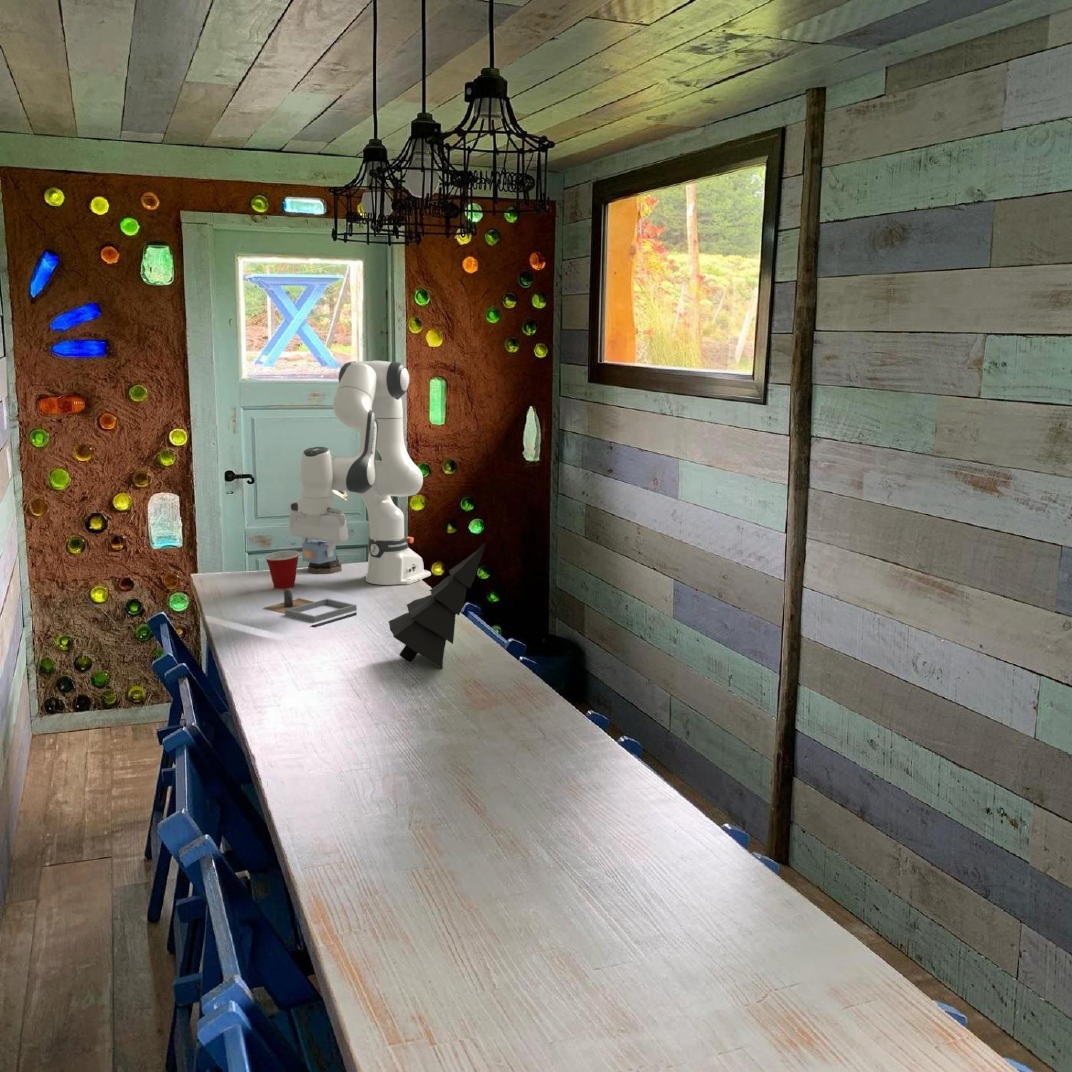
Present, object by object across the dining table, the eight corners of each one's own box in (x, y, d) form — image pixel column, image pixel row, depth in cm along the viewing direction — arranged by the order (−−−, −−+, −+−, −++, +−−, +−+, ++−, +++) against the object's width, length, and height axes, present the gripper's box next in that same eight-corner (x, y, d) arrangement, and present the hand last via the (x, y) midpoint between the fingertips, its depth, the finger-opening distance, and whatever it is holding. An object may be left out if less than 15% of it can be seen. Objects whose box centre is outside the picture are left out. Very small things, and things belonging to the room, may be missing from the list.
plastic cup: (263, 588, 340) (262, 550, 338) (298, 585, 344) (297, 548, 341) (267, 596, 330) (266, 558, 328) (303, 593, 334) (302, 555, 331)
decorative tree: (433, 682, 263) (515, 565, 262) (383, 651, 259) (466, 532, 258) (426, 664, 278) (504, 552, 276) (378, 634, 273) (457, 521, 272)
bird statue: (356, 564, 374) (353, 463, 367) (357, 572, 362) (354, 468, 355) (307, 565, 371) (303, 464, 364) (306, 574, 359) (303, 469, 352)
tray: (327, 608, 317) (327, 598, 317) (356, 615, 310) (356, 605, 310) (285, 620, 304) (285, 610, 304) (314, 627, 298) (314, 617, 297)
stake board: (299, 603, 323) (298, 582, 321) (322, 608, 317) (321, 587, 316) (262, 613, 312) (261, 591, 310) (285, 618, 306) (284, 596, 305)
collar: (320, 556, 308) (319, 539, 308) (336, 559, 305) (335, 542, 304) (298, 561, 302) (298, 544, 301) (314, 564, 298) (314, 547, 297)
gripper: (352, 508, 298) (353, 557, 300) (301, 500, 309) (303, 548, 312) (335, 511, 293) (337, 561, 295) (284, 503, 304) (286, 551, 307)
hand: (319, 554), depth 304 cm, fingers closed on collar, 6 cm apart
